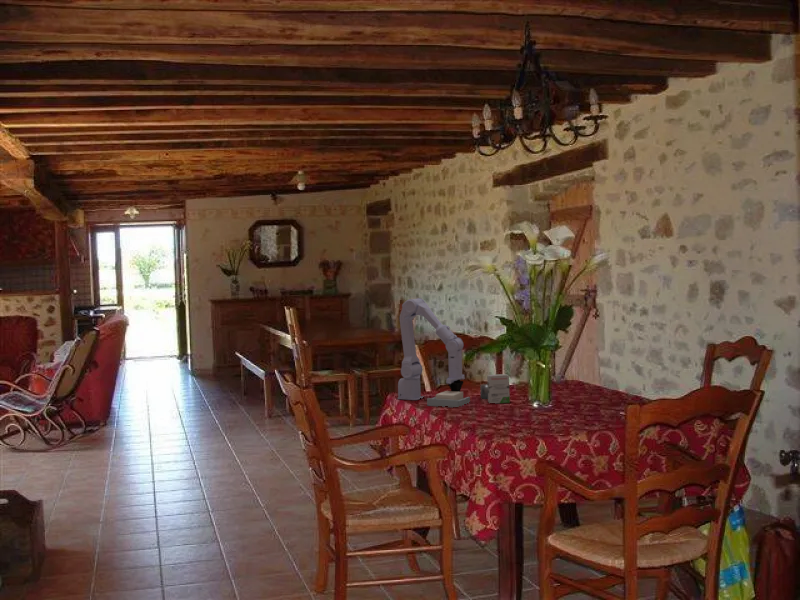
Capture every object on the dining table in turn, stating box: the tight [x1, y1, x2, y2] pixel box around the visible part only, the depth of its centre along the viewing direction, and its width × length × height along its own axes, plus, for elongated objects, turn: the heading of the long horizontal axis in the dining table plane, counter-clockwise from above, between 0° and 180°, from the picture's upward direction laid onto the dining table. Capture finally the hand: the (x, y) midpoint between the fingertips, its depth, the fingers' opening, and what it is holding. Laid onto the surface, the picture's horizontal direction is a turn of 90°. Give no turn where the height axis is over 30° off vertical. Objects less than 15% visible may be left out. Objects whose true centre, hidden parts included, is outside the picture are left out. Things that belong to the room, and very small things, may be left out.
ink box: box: [487, 373, 511, 404], centre depth 371 cm, size 9×5×12 cm, turn 94°
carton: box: [435, 390, 464, 400], centre depth 370 cm, size 8×10×5 cm
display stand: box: [426, 396, 471, 408], centre depth 369 cm, size 14×12×3 cm
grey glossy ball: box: [479, 383, 488, 400], centre depth 381 cm, size 6×6×6 cm
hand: (456, 398), depth 376 cm, fingers closed
